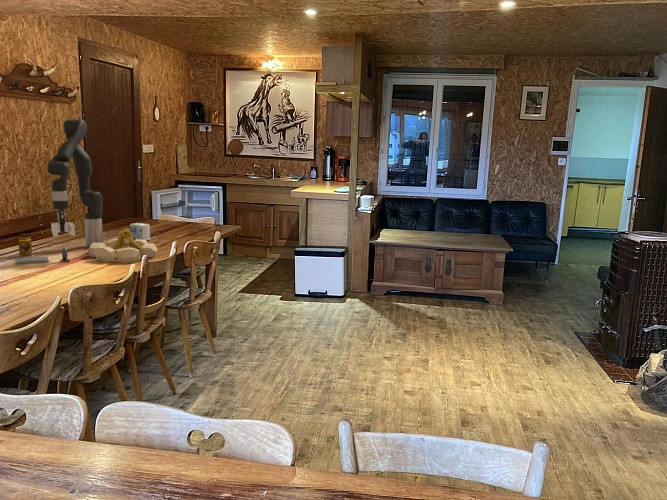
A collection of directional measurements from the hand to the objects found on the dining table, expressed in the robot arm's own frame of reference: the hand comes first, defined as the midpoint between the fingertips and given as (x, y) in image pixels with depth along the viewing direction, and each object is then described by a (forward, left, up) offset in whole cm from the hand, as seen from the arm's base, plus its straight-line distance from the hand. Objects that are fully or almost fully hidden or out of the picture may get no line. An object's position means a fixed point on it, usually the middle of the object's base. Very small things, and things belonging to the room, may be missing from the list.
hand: (62, 231), depth 294 cm
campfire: (-30, +7, -15) cm, 34 cm away
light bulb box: (-48, -38, -15) cm, 63 cm away
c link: (0, +6, 0) cm, 6 cm away
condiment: (+18, -11, -15) cm, 26 cm away
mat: (+15, +3, -15) cm, 21 cm away
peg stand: (0, +10, -15) cm, 18 cm away
